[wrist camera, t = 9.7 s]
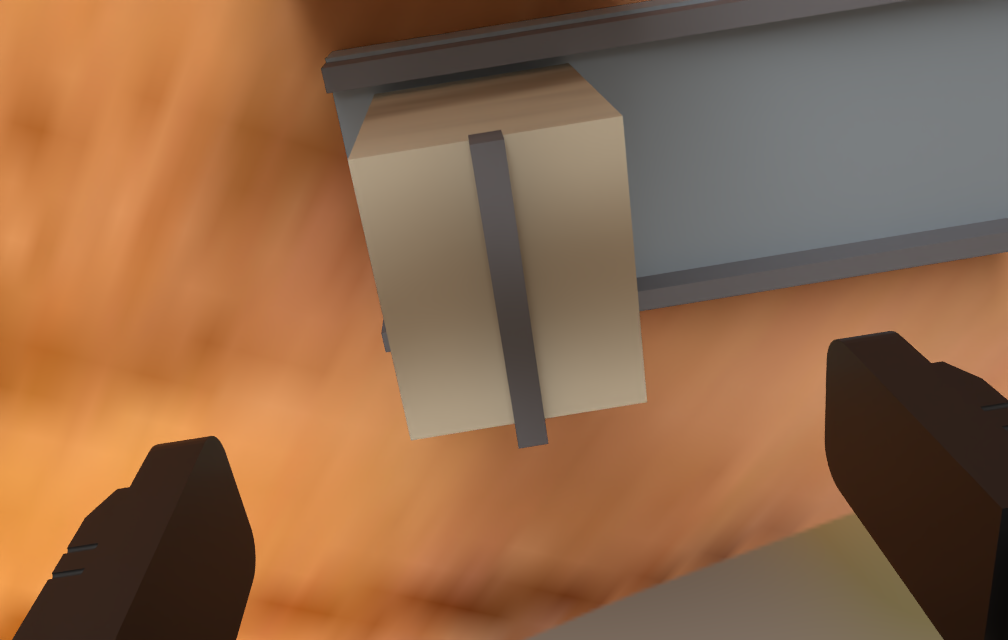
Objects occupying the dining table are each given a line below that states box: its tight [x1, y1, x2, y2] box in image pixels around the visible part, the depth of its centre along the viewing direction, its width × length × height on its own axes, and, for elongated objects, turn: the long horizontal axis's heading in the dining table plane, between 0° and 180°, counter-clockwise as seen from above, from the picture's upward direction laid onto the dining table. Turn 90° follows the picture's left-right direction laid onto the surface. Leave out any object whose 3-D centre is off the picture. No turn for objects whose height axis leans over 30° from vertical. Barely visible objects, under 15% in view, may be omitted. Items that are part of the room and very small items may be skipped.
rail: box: [321, 0, 1008, 352], centre depth 23 cm, size 8×19×2 cm, turn 98°
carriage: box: [348, 63, 647, 448], centre depth 19 cm, size 6×5×8 cm
